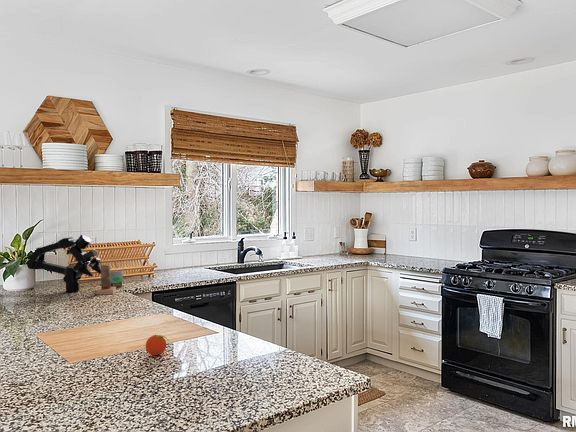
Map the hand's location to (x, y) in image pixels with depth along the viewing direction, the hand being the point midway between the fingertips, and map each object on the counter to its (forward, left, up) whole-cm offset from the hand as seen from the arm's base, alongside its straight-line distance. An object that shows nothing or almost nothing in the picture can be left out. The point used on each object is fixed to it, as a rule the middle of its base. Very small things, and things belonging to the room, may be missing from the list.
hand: (96, 274), depth 284 cm
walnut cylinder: (+5, -2, -7) cm, 9 cm away
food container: (+8, +12, -10) cm, 18 cm away
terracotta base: (+5, -2, -10) cm, 11 cm away
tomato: (+45, -120, -10) cm, 129 cm away
